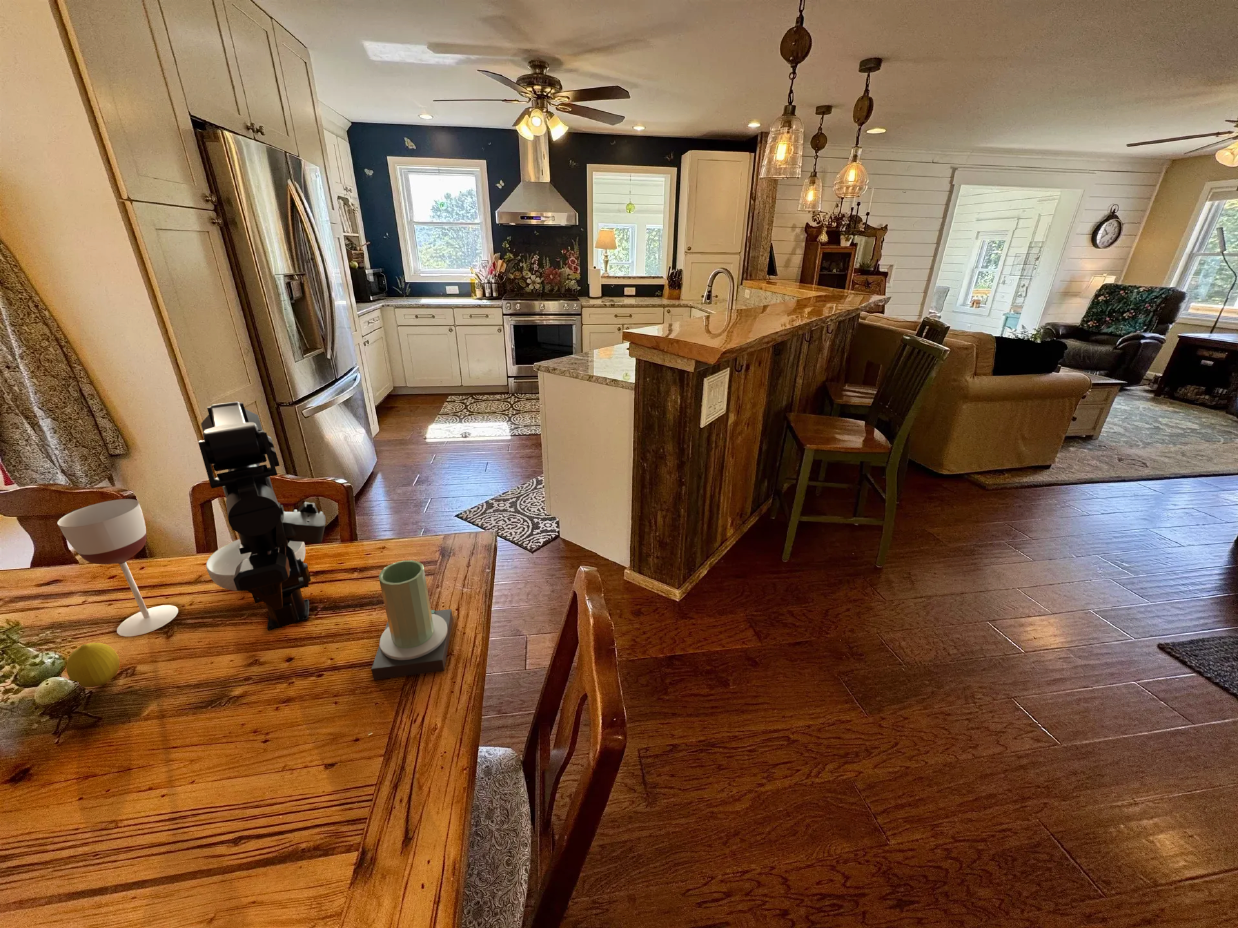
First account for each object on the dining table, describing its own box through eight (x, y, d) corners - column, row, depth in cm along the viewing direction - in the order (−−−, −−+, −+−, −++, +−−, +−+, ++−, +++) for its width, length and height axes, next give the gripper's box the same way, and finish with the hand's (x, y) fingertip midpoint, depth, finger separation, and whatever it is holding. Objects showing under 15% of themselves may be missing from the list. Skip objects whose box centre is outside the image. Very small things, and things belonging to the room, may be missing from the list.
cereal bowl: (290, 600, 98) (281, 570, 95) (197, 608, 95) (185, 578, 93) (323, 553, 114) (316, 527, 111) (243, 559, 111) (234, 532, 108)
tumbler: (386, 649, 82) (372, 585, 77) (399, 621, 89) (387, 560, 83) (428, 647, 83) (417, 583, 78) (438, 619, 89) (428, 559, 84)
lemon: (97, 701, 76) (75, 661, 72) (69, 694, 77) (47, 655, 73) (136, 673, 81) (117, 635, 77) (109, 668, 82) (90, 630, 78)
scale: (391, 625, 92) (388, 613, 91) (452, 618, 94) (451, 606, 93) (373, 680, 80) (370, 666, 79) (444, 670, 82) (441, 657, 81)
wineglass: (100, 630, 90) (45, 520, 81) (164, 598, 98) (120, 495, 89) (130, 644, 86) (75, 531, 78) (193, 610, 95) (151, 504, 86)
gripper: (315, 522, 70) (337, 609, 76) (316, 474, 85) (335, 551, 91) (218, 541, 65) (251, 633, 71) (237, 487, 80) (263, 567, 86)
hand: (280, 591), depth 80 cm, fingers open, 9 cm apart
